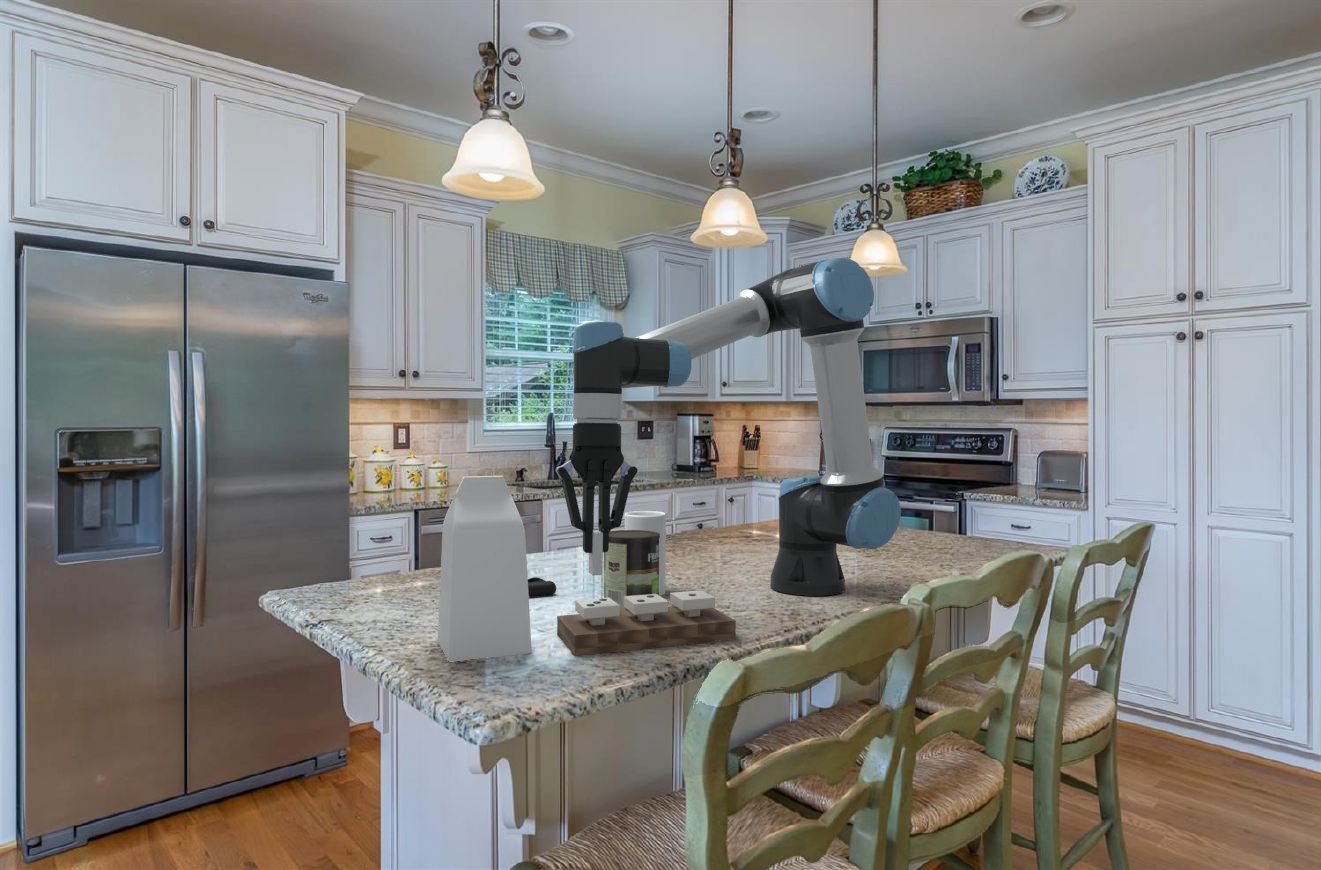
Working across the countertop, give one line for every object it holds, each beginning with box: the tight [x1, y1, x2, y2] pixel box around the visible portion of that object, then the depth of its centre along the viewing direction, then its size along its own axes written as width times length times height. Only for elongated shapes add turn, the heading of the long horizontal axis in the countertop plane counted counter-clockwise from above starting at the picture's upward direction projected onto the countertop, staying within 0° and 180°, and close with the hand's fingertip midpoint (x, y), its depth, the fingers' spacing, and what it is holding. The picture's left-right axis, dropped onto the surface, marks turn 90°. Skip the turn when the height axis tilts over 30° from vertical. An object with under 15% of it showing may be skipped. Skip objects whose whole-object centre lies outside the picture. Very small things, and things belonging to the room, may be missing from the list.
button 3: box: [574, 597, 619, 626], centre depth 120 cm, size 6×6×4 cm
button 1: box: [669, 589, 716, 617], centre depth 126 cm, size 6×6×4 cm
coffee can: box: [603, 529, 660, 611], centre depth 140 cm, size 10×10×14 cm
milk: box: [437, 475, 533, 663], centre depth 117 cm, size 12×12×26 cm
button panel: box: [556, 605, 737, 657], centre depth 123 cm, size 26×12×3 cm, turn 110°
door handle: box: [528, 576, 557, 599], centre depth 154 cm, size 3×20×16 cm
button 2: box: [624, 594, 669, 621], centre depth 123 cm, size 6×6×4 cm
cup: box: [624, 510, 667, 597], centre depth 155 cm, size 8×8×16 cm
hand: (595, 573), depth 120 cm, fingers closed
